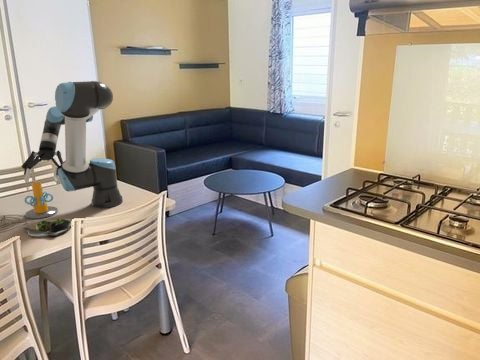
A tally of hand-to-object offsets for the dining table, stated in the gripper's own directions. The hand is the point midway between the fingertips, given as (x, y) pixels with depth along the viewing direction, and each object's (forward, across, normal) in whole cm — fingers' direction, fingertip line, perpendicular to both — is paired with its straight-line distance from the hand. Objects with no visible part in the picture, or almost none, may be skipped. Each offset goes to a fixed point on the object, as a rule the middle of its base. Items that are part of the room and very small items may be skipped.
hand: (40, 181), depth 186 cm
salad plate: (+28, -13, +7) cm, 32 cm away
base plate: (+14, 0, -7) cm, 16 cm away
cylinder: (+14, 0, -6) cm, 15 cm away
